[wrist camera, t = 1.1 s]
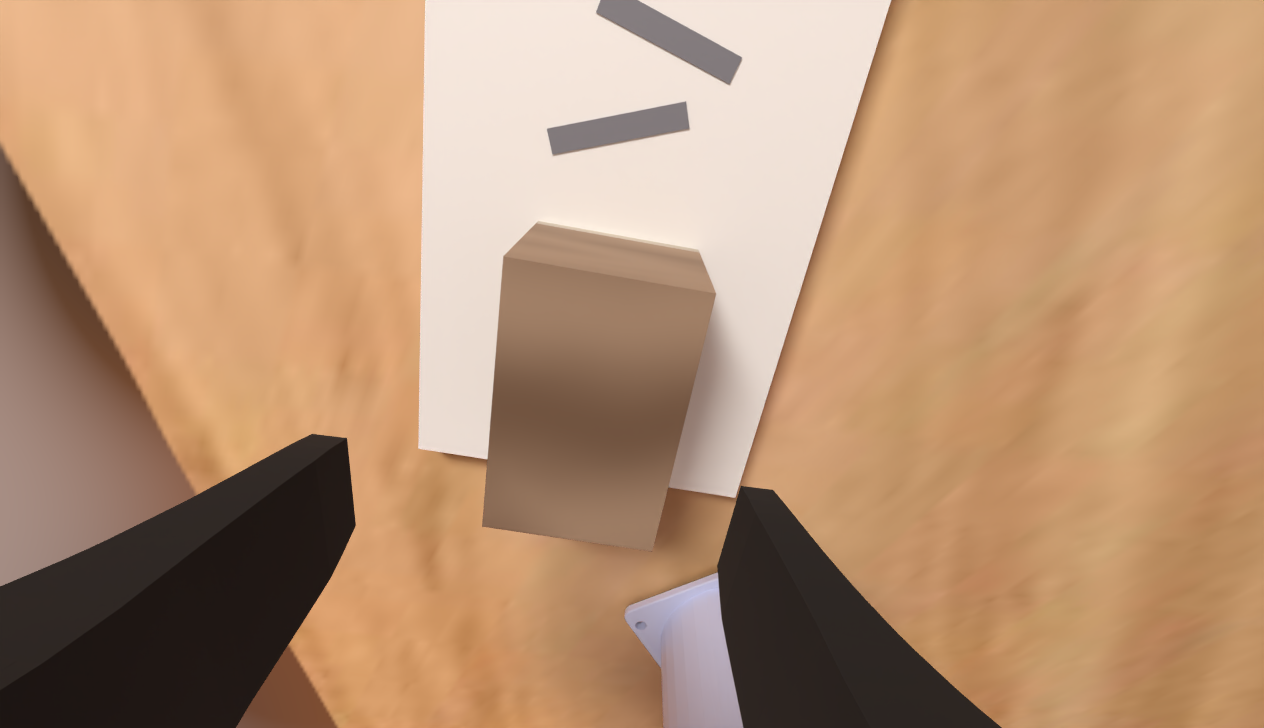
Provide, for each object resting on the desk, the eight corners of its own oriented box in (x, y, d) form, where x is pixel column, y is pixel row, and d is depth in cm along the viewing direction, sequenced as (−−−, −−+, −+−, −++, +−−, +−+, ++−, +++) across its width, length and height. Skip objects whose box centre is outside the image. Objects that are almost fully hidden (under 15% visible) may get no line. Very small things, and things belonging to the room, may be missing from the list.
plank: (730, 478, 22) (735, 498, 21) (429, 431, 21) (418, 449, 20) (1040, -541, 11) (1084, -613, 10) (457, -697, 11) (436, -792, 10)
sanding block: (650, 461, 20) (652, 551, 16) (515, 440, 20) (482, 526, 16) (698, 249, 17) (716, 293, 13) (538, 220, 17) (503, 256, 13)
